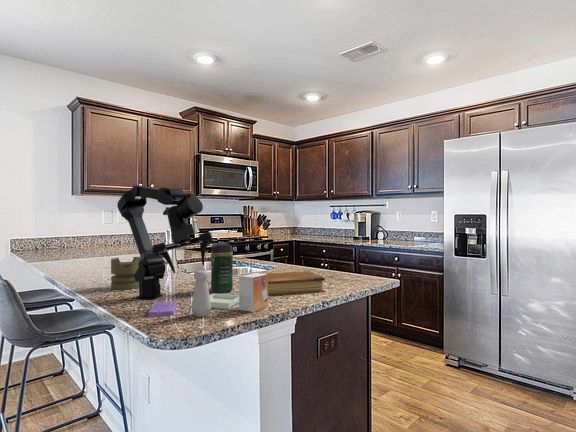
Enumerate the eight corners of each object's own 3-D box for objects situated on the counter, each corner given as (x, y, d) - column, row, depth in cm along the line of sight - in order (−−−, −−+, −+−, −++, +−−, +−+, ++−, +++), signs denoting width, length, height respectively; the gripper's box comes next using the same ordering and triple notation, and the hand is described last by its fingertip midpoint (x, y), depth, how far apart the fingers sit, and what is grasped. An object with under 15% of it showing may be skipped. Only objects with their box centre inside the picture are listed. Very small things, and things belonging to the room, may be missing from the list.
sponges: (148, 318, 104) (148, 311, 104) (154, 307, 117) (154, 301, 117) (173, 316, 106) (173, 310, 106) (176, 306, 118) (176, 300, 118)
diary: (308, 284, 155) (308, 270, 155) (324, 293, 137) (324, 278, 137) (255, 287, 148) (255, 273, 148) (265, 297, 131) (265, 281, 131)
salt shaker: (193, 319, 102) (193, 272, 101) (189, 314, 107) (188, 270, 107) (214, 316, 104) (213, 271, 104) (208, 311, 109) (208, 268, 109)
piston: (142, 259, 144) (110, 260, 139) (142, 289, 144) (110, 292, 139) (140, 256, 154) (111, 257, 149) (141, 284, 154) (111, 286, 149)
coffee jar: (235, 292, 137) (234, 243, 137) (214, 294, 134) (213, 243, 134) (229, 287, 146) (229, 241, 146) (209, 289, 143) (209, 242, 143)
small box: (253, 312, 108) (253, 277, 108) (238, 310, 111) (238, 275, 111) (268, 307, 114) (268, 273, 114) (254, 304, 117) (254, 272, 117)
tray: (195, 306, 115) (195, 301, 115) (213, 298, 126) (213, 293, 126) (228, 309, 112) (228, 303, 112) (243, 300, 123) (243, 295, 123)
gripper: (144, 224, 110) (155, 274, 106) (206, 210, 114) (218, 258, 111) (150, 232, 120) (160, 278, 117) (206, 219, 125) (217, 263, 122)
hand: (189, 269), depth 116 cm, fingers open, 9 cm apart
